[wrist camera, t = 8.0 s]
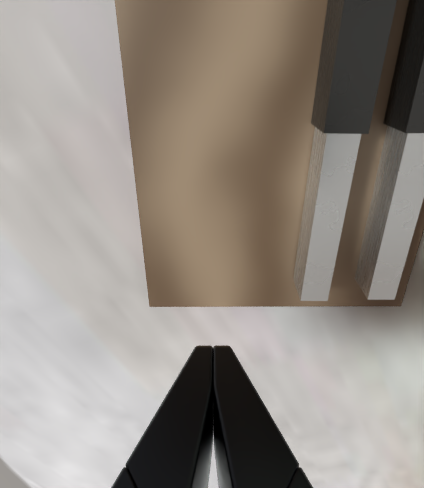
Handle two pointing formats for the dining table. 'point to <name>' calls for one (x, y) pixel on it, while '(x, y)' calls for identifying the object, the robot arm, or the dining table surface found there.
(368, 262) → the tongs fixed
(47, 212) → the dining table surface
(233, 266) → the board
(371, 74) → the bar
